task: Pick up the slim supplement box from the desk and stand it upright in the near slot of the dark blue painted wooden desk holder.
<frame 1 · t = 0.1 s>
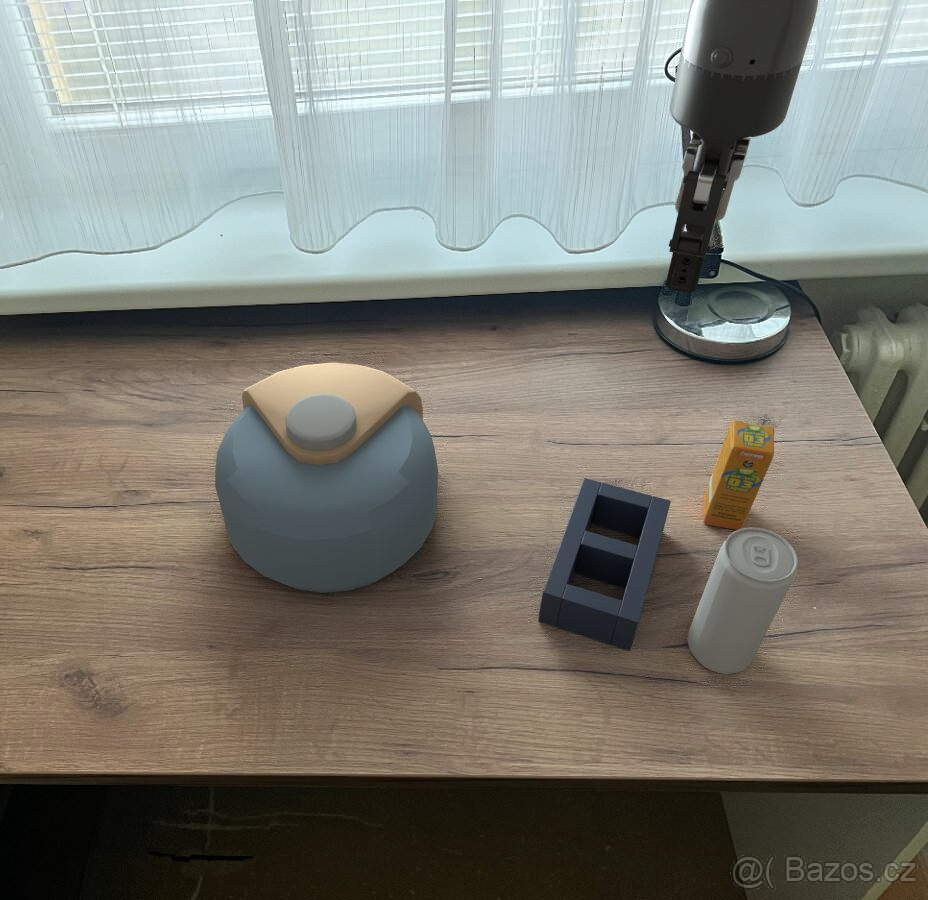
hand: (690, 258, 69), 20 cm above the table, tool pointing down, fingers open, 8 cm apart
beverage can: (718, 651, 67), on the table
supplement box: (721, 517, 76), on the table
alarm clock: (332, 512, 80), on the table
holder: (602, 574, 73), on the table
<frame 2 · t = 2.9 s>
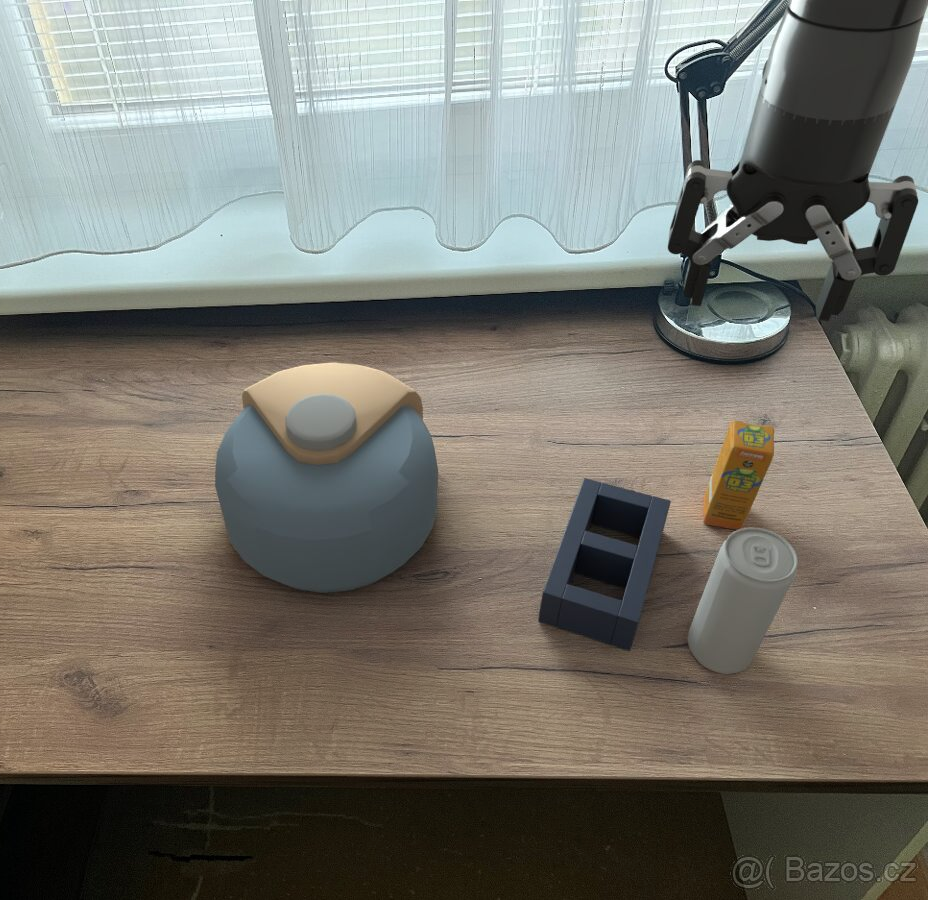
hand: (757, 307, 64), 20 cm above the table, tool pointing down, fingers open, 8 cm apart
nothing on the table moved.
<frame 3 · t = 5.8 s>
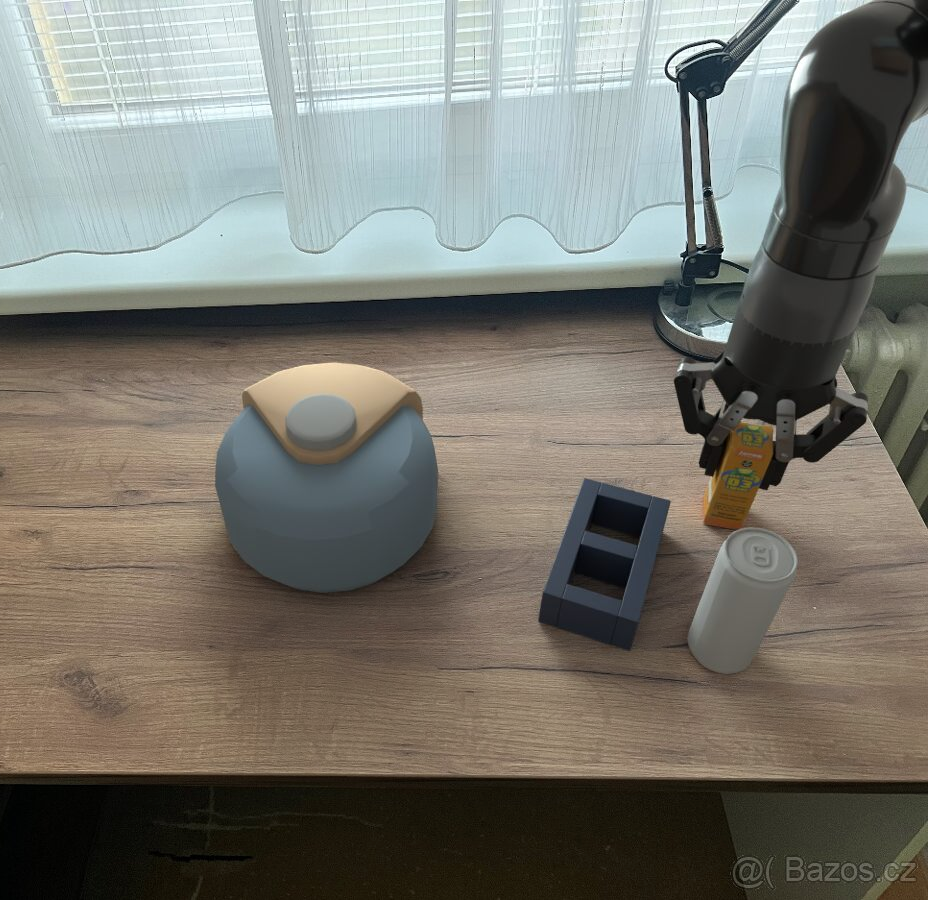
hand: (737, 475, 72), 5 cm above the table, tool pointing down, fingers closed on supplement box, 3 cm apart
supplement box: (721, 517, 76), on the table, touching gripper
everything else where it was.
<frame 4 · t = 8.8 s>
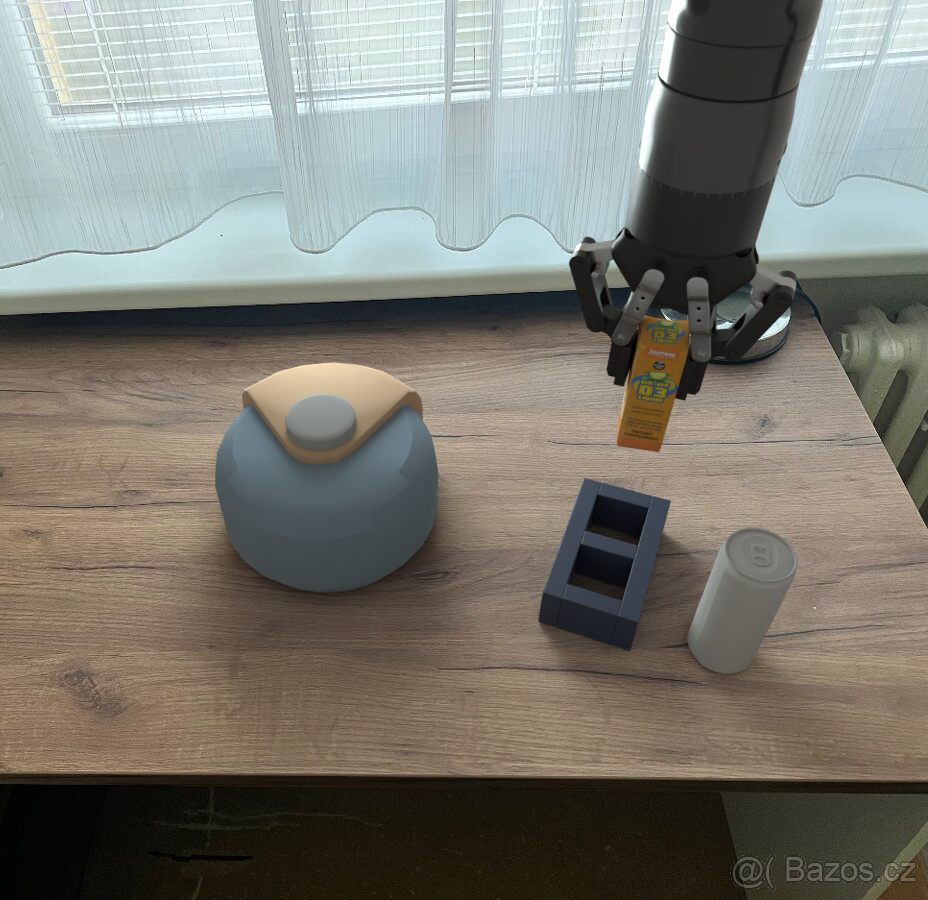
hand: (652, 384, 61), 19 cm above the table, tool pointing down, fingers closed on supplement box, 3 cm apart
supplement box: (638, 438, 65), point 13 cm above the table, touching gripper
everything else where it was.
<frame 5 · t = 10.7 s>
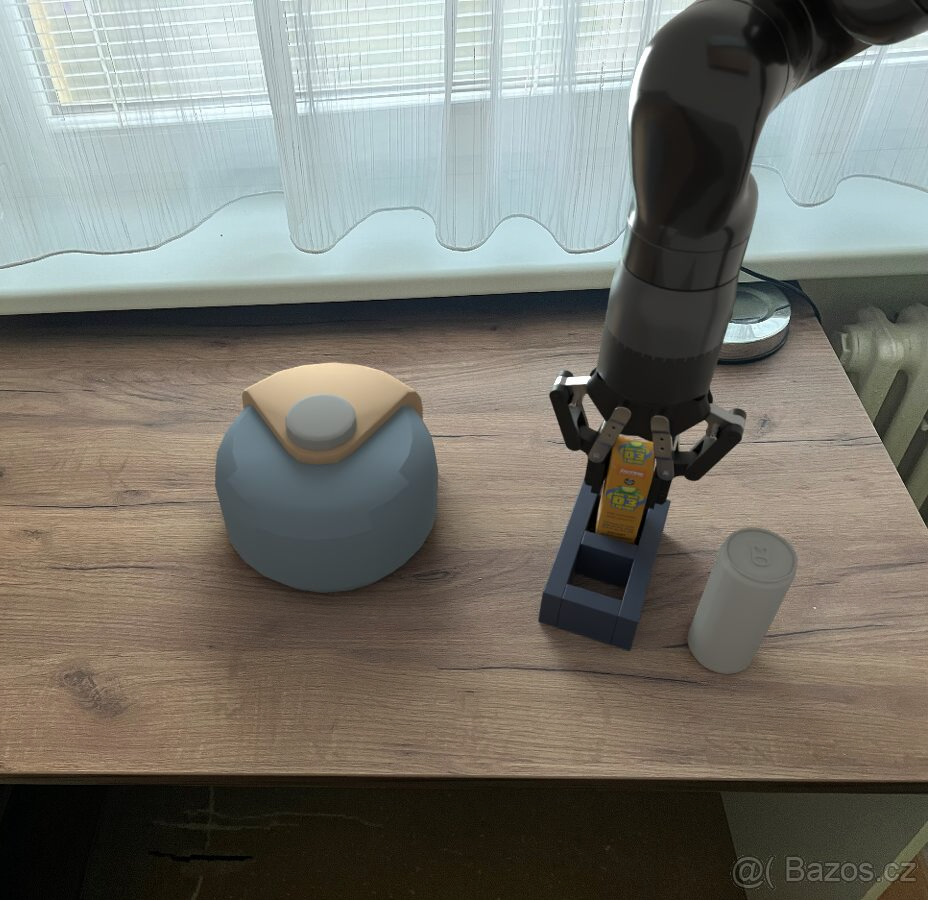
hand: (624, 492, 69), 7 cm above the table, tool pointing down, fingers closed on supplement box, 3 cm apart
supplement box: (614, 535, 73), point 2 cm above the table, touching gripper
everything else where it was.
when the fingers open (5 cm above the table, at t = 11.8 s): supplement box stays where it is, resting in holder.
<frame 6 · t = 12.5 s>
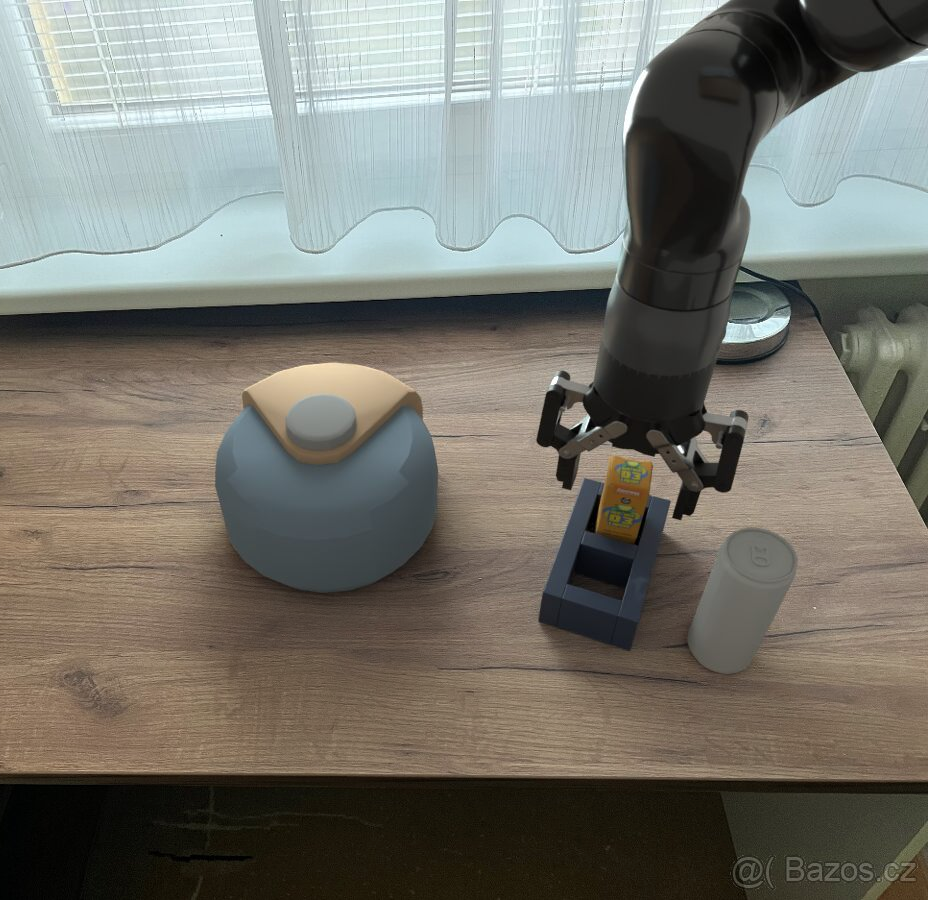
hand: (623, 496, 70), 7 cm above the table, tool pointing down, fingers open, 8 cm apart
supplement box: (610, 551, 75), resting in holder
everything else where it was.
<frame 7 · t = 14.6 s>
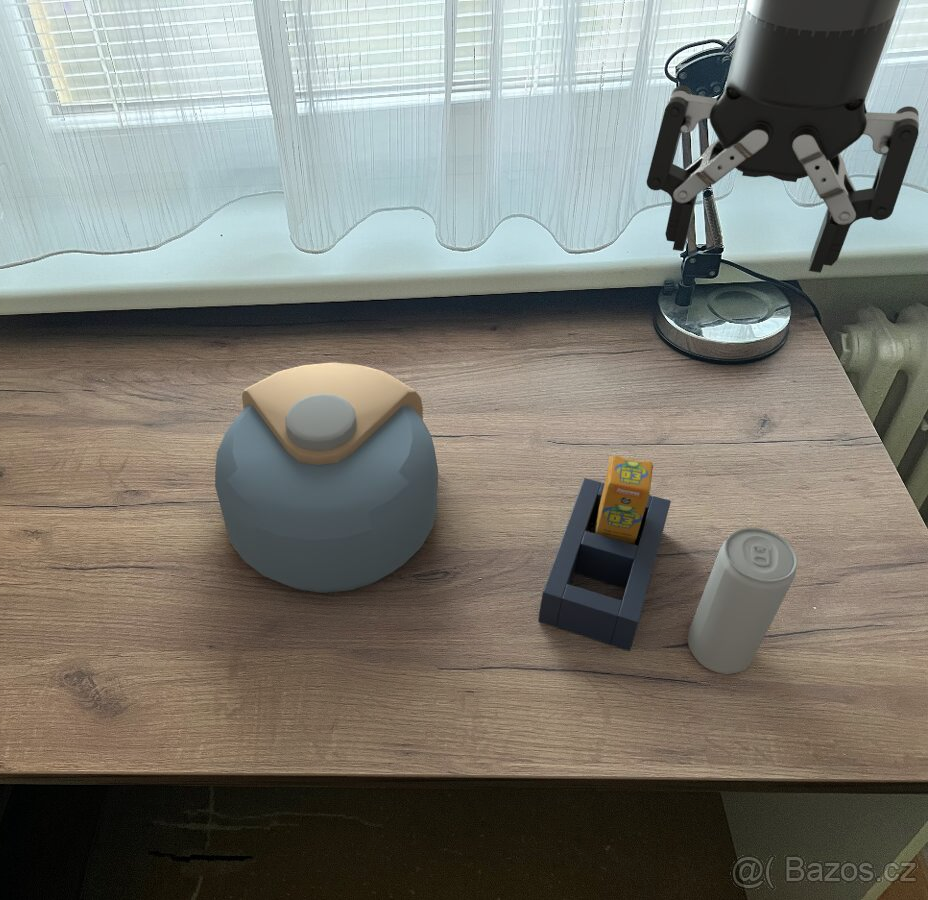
hand: (746, 255, 59), 26 cm above the table, tool pointing down, fingers open, 8 cm apart
nothing on the table moved.
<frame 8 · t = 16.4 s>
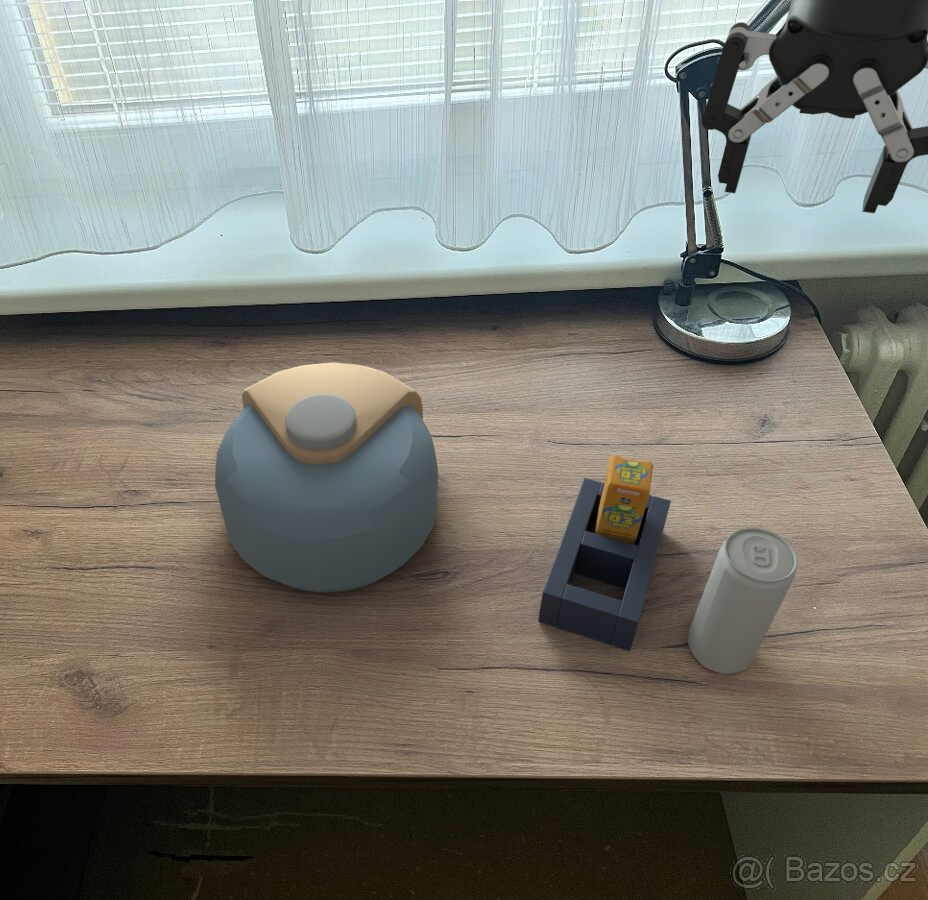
hand: (798, 197, 59), 28 cm above the table, tool pointing down, fingers open, 8 cm apart
nothing on the table moved.
at the end: supplement box 0.1 cm from the target spot in the holder, point 0.0 cm above the holder's base; supplement box tilted 0°; the gripper is holding nothing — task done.
